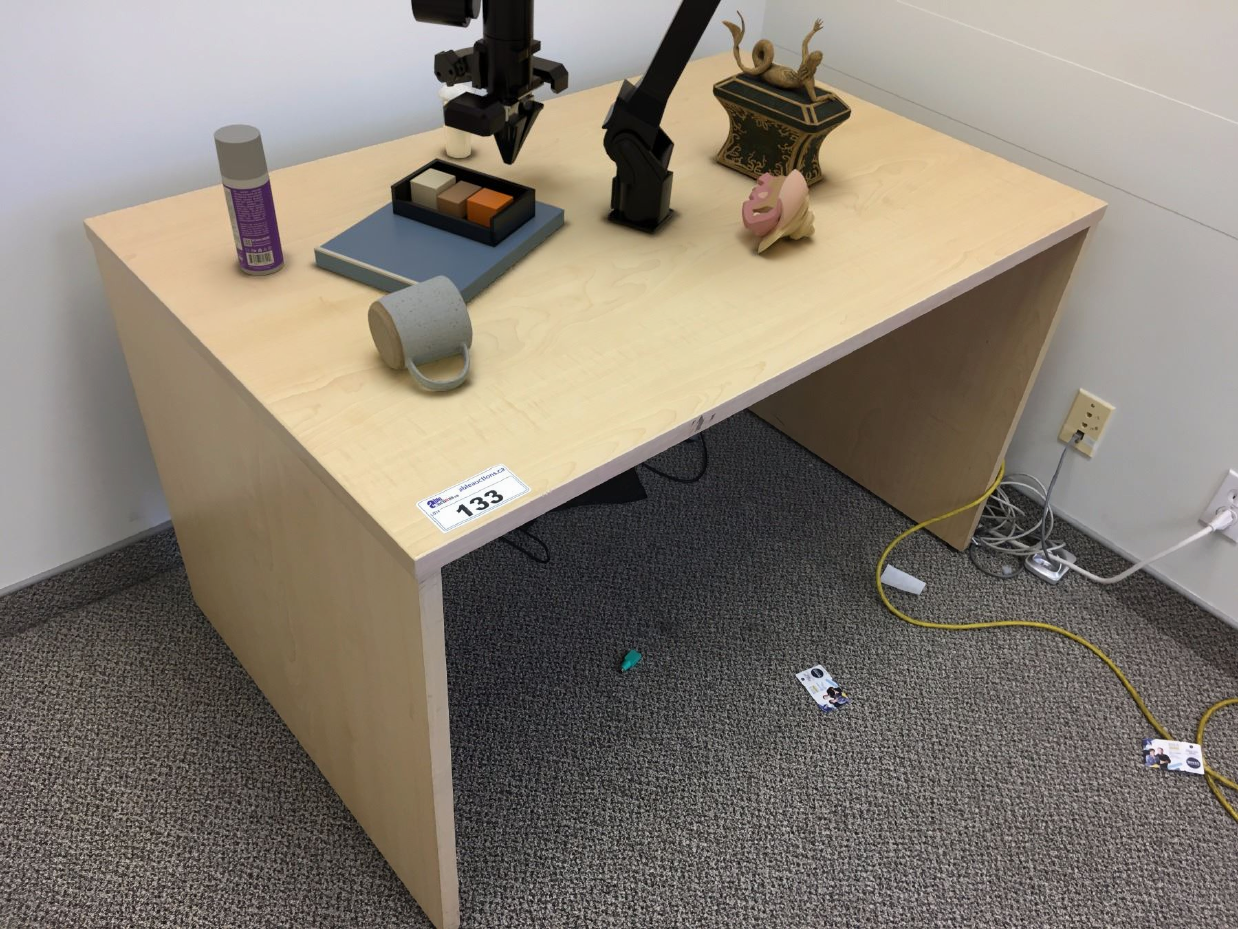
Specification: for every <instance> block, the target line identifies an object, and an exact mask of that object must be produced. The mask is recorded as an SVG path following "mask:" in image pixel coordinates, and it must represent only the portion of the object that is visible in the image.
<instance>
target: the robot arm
mask: <svg viewBox="0 0 1238 929" xmlns="http://www.w3.org/2000/svg"><path fill="white" fill-rule="evenodd" d="M721 1H722V0H681V1H680V3H679V5H678V7H677V8H676V11H675V12H674V15H673V17H672V19H671V21H670V23H669V25H668V26H667V29H666V30H665V32H664V34H663V37H662V39H661V40H660V42H659V44H658V46H657V48H656V50H655V52H654V54H653V56H652V58H651V60H650V62H649V64H648V66H647V68H646V70H645V72H644V73H643V75H642V76H640V78H639V79H638V80H637V82H636V83H635V84H633V83H632V82H631V81H630V80H628V79H627V78H624V79H623V81H622V84H621V85H620V89H619V91H618V93H617V96H616V98H615V101H614V102H613V103H611V104H610V107H609V109H608V111H607V113H606V115H605V118H604V121H603V123H602V125H601V129H602V130H606V131H605V133H604V136H603V139H602V140H603V141H602V145H603V148H604V151H605V153H606V155H607V156H608V158H609V159H610V160H611V161H612V162H613V163H615V167H616V172H615V176H614V177H612V179H611V192H610V209H611V211H610V212H609V213H608V214H607V215H606V219H607V220H608V221H611V222H614V223H617V224H621V225H623V226H627V227H630V228H633V229H637V230H639V231H643V232H646V233H649V234H654V233H656V232H657V231H658V230H659V229H660V228H661V227H662V226H663V225H664V224H665V223H666V222H668V220H670V219H671V217H673V216H674V215H675V209H674V208H671V198H672V192H673V191H672V189H673V182H674V171H672V170H669V165H670V162H671V158H672V154H673V152H674V148H675V142H674V141H673V140H672V139H671V138H670V136H669V134H667V133H666V131H664V128H662V127H661V126H660V125H661V123H662V120H663V116H664V114H665V111H666V107H667V105H668V101H669V99H670V97H671V94H672V93H673V91H674V89H675V87H676V85H677V84H678V81H679V80H680V78H681V76H682V74H683V72H684V71H685V69H686V67H687V65H688V63H689V61H690V59H691V57H692V56H693V54H694V53H695V50H696V48H697V46H698V44H699V43H700V41H701V39H702V37H703V35H704V34H705V31H706V29H707V28H708V26H709V24H710V23H711V20H712V19H713V16H714V14H715V13H716V11H717V9H718V7H719V5H720V4H721ZM410 6H411V12H412V16H413V19H414V20H415V21H416V22H417V23H422V24H423V23H424V24H430V25H439V26H447V27H456V28H463V29H466V28H469V26H470V24H471V21H472V20H478V18H479V17H480V14H481V12H482V14H481V15H482V16H481V17H482V18H481V19H482V38H480V39H477V40H475V41H474V43H473V46H468V47H463V48H460V49H459V48H458V49H456V50H454V49H452V48H451V49H448V50H447V51H445V50H442V51H439V52H437V53H436V54H434V60H433V74H434V76H435V77H436V79H437V81H438V82H440V83H441V84H443V83H445V85H447V87H452V86H454V84H460V83H461V84H465V83H471V89H475V90H480V91H481V90H482V89H483V90H485V92H486V94H484V95H481V94H476V93H475V94H474V93H470V92H467V91H466V92H464V93H462V94H461V95H459V96H457V97H455V98H453V99H452V100H450V101H449V102H447V103H446V104H445V105H444V106H443V118H444V124H445V126H448V127H452V128H455V129H458V130H462V131H465V132H468V133H471V135H476V136H478V137H482V138H484V137H485V138H488V137H491V136H493V138H494V141H495V143H496V146H497V149H498V152H499V154H500V157H501V160H502V162H503V164H505V165H507V166H512V165H513V164H514V163H515V162H516V160H517V158H518V156H519V154H520V152H521V150H522V148H523V145H524V143H525V142H526V139H527V138H528V135H529V134H530V132H531V130H532V127H533V126H534V124H535V123H536V120H537V119H538V118H539V114H540V113H541V111H543V110H544V108H545V104H544V103H543V102H540V101H536V100H535V94H533V92H534V91H536V90H537V89H540V88H542V86H544V85H545V83H546V84H548V85H549V84H550V87H549V88H550V91H552V94H555V95H559V94H560V93H562V92H563V91H565V90H567V89H568V88H569V70H567V68H566V66H565V65H564V63H562V62H558V61H555V60H551V59H547V58H543V57H539V56H535V55H534V54H536V53H538V52H540V51H541V50H542V41H541V40H539V39H535V34H534V33H535V32H534V31H535V27H534V26H535V0H410Z"/></svg>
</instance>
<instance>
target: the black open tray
mask: <svg viewBox="0 0 1238 929" xmlns="http://www.w3.org/2000/svg"><path fill="white" fill-rule="evenodd" d="M390 194H391V201H392V206H393V214H396V215H399V216H402V217H405V218H408V219H411V220H414V221H417V222H420V223H423V224H426V225H429V226H432V227H435V228H438V229H441V230H444V231H447V232H450V233H453V234H456V235H459V236H462V237H465V238H468V239H471V240H474V241H477V242H480V243H483V244H485V245H488V246H491V247H496V246H497V245H498V244H500V243H501V242H502V241H503V240H505V239H506V238H507V237H509V236H510V235H511V234H513V233H514V232H515V231H516V230H518V229H519V228H520V227H522V226H523V225H524V224H526V223H527V222H528V221H529V220H531V219H532V218H533V217H535V202H536V201H537V198H536V197H537V195H536V194H537V189H536V188H533V187H531V186H528V185H524V184H521V183H518V182H515V181H511V180H508V179H505V178H501V177H499V176H495V175H492V174H489V173H485V172H484V171H483V172H482V171H480V170H476V169H472V168H470V167H466V166H462V165H460V164H456V163H453V162H452V161H451V162H450V161H447V160H444V159H441V158H438V157H435V158H434V159H432V160H430V161H429V162H427V163H426V164H424V165H423V166H420V167H419V168H418V169H416V170H414V171H413V172H410V173H409V174H407V175H406V176H404V177H402V178H401V179H399V180H398V181H396V182H394V183H392V184H391V185H390Z"/></svg>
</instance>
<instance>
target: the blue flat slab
mask: <svg viewBox="0 0 1238 929" xmlns="http://www.w3.org/2000/svg"><path fill="white" fill-rule="evenodd" d="M564 224H565V208H561V207H559V206H555V205H552V204H549V203H545V202H542V201H539V200H536V202H535V217H533V218H532V219H531V220H529V221H528V222H527V223H526V224H524V225H523V226H522V227H520V228H519V229H518V230H516V231H515V232H514V233H513V234H511V235H510V236H509V237H507V238H506V239H505V240H503V241H502V242H501V243H500V244H498V245H497V246H496V247H491V246H488V245H485V244H483V243H480V242H477V241H474V240H471V239H468V238H465V237H462V236H459V235H456V234H453V233H450V232H447V231H444V230H441V229H438V228H435V227H432V226H429V225H426V224H423V223H420V222H417V221H414V220H411V219H408V218H405V217H402V216H399V215H396V214H393V206H392V200H391V201H389V202H388V203H386V204H385V205H384V206H382V207H380V208H379V209H377V210H376V211H374V212H372V213H371V214H369V215H368V216H366V217H364V218H363V219H361V220H360V221H358V222H356V223H355V224H353V225H351V226H350V227H349V228H347V229H345V230H344V231H342V232H340V233H339V234H337V235H336V236H334V237H333V238H331V239H329V240H328V241H326V242H325V243H323V244H321V245H320V246H319V245H315V246H314V247H313V252H314V259H315V266H316V267H318V268H321V269H325V270H327V271H330V272H333V273H336V274H338V275H341V276H344V277H346V278H349V279H351V280H355V281H357V282H360V283H361V284H365V285H368V286H371V287H374V288H376V289H379V290H382V291H385V292H387V293H389V294H391V293H394V292H396V291H399V290H402V289H405V288H407V287H410V286H413V285H415V284H418V283H421V282H424V281H427V280H429V279H432V278H434V277H437V276H445V277H447V278H448V279H450V280H451V281H452V283H453V284H454V285H455V286H456V288H457V289H458V291H459V293H460V294H461V297H462V299H463V300H464V303H465V305H466V304H467V303H468V302H470V301H472V299H474V298H475V297H476V296H477V295H479V294H480V293H481V292H482V291H483V290H484V289H486V288H487V287H488V286H489V285H491V284H492V283H493V282H495V281H496V280H497V279H498V278H499V277H501V276H502V275H503V274H505V273H506V272H507V271H508V270H509V269H510V268H512V267H513V266H514V265H516V264H517V263H518V262H519V261H520V260H522V259H523V258H524V257H525V256H527V255H528V254H529V253H530V252H532V250H534V249H535V248H536V247H538V246H539V245H540V244H542V243H543V242H544V241H545V240H546V239H548V238H549V237H550V236H551V235H552V234H554V233H555V232H556V231H557V230H559V229H560V228H561V227H562V226H563V225H564Z"/></svg>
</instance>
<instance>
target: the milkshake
mask: <svg viewBox="0 0 1238 929" xmlns="http://www.w3.org/2000/svg"><path fill="white" fill-rule="evenodd" d="M466 91H467V92H470V93H474V94H476V92H477V89H475V90H473V88H472V87H470V86H467V85H466V84H465V83H460V84H454V86H452V87H447V85H446V84H444V85H443V86H442V87H441V88H440V89H439V91H438V99H439V106H440V112H441V118H442V126H443V132H444V133H443V134H444V141H445V149H446V155H447V156H449V157H450V158H454V159H464V158H467V157H469V156H471V153H472V133H468V132H465V131H462V130H458V129H455V128H452V127H448V126H445V124H444V118H443V106H444V105H445V104H446V103H447V102H449V101H450V100H452V99H453V98H455V97H457V96H459V95H461V94H462V93H464V92H466Z"/></svg>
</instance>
